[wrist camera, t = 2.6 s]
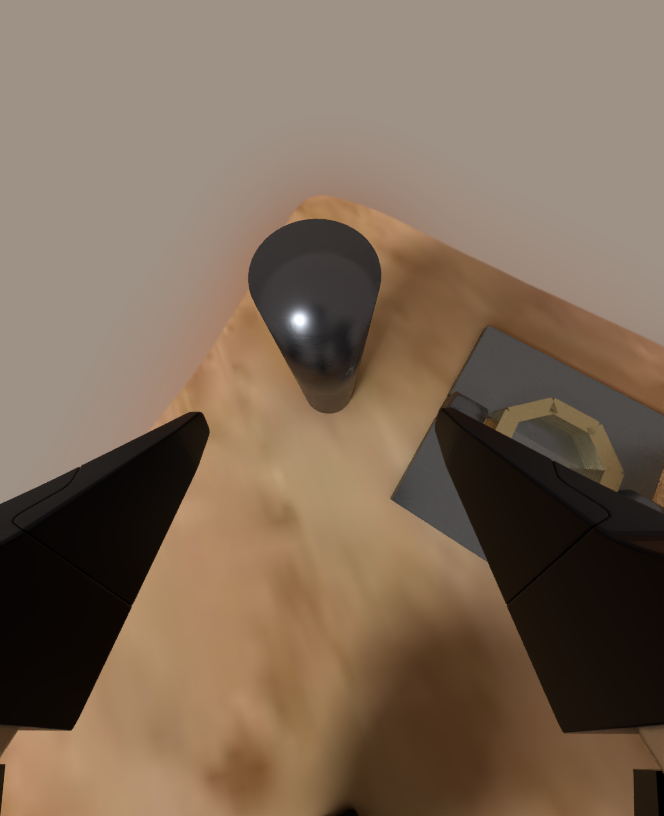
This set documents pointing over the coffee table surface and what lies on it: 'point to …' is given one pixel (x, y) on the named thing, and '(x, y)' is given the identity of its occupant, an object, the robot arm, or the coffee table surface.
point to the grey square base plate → (537, 430)
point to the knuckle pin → (318, 304)
